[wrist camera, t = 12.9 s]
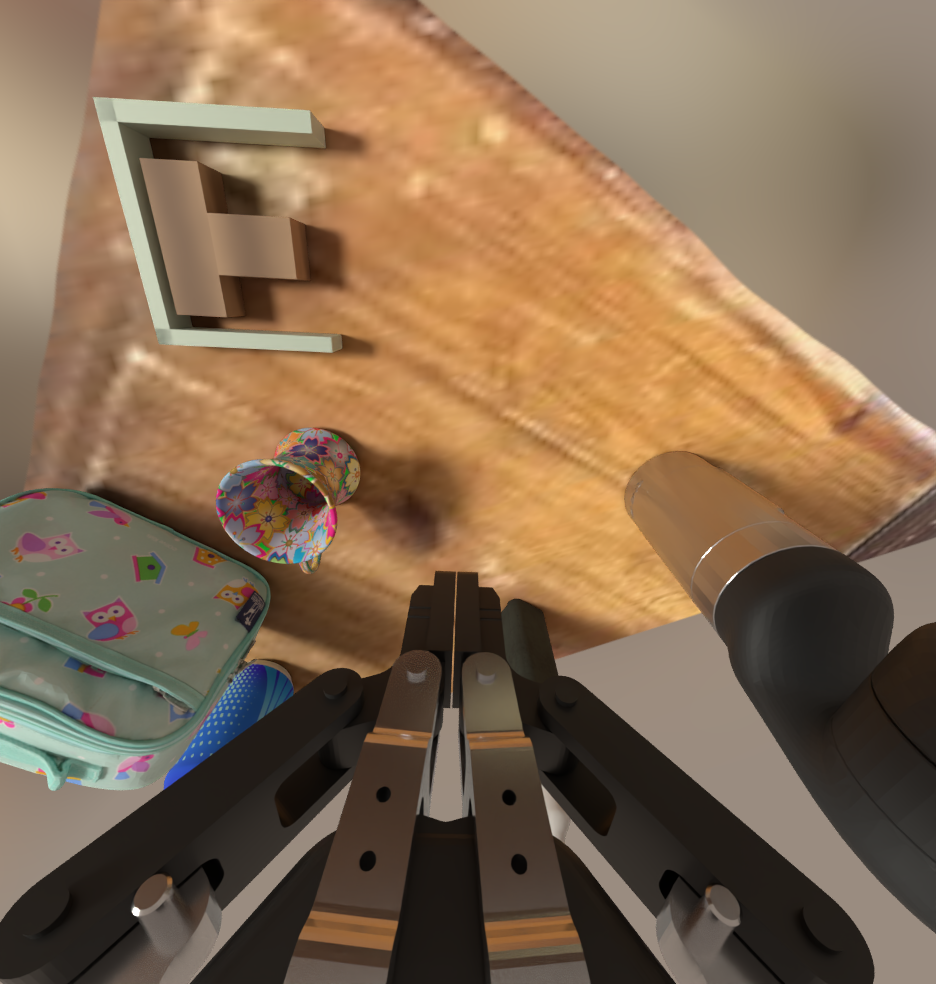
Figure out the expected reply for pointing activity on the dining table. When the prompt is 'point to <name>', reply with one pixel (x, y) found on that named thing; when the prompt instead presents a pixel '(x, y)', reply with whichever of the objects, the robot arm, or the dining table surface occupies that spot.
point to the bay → (125, 144)
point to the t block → (216, 240)
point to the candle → (533, 673)
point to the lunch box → (112, 638)
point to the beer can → (236, 712)
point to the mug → (289, 498)
